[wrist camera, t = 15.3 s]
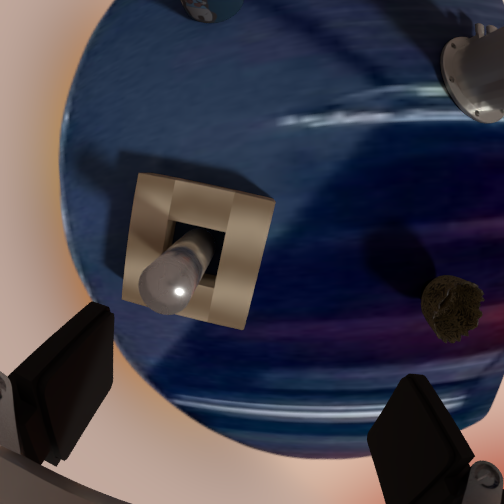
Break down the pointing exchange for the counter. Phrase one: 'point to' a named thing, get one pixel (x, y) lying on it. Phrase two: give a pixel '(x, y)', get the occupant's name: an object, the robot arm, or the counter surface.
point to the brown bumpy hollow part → (451, 306)
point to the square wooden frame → (209, 216)
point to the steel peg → (177, 272)
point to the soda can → (211, 9)
